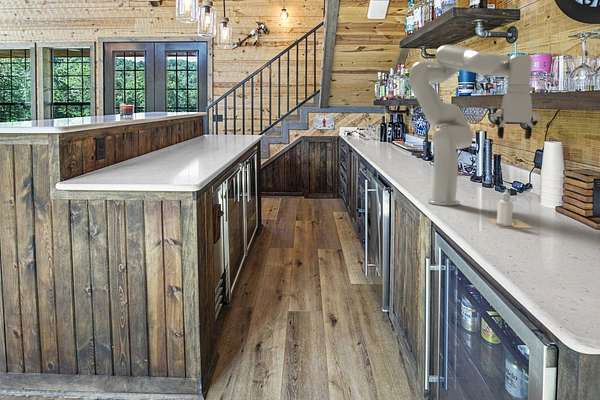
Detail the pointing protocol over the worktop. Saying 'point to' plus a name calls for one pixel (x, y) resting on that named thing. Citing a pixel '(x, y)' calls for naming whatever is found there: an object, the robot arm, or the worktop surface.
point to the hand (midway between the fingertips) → (514, 138)
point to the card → (512, 224)
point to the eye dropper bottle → (505, 210)
